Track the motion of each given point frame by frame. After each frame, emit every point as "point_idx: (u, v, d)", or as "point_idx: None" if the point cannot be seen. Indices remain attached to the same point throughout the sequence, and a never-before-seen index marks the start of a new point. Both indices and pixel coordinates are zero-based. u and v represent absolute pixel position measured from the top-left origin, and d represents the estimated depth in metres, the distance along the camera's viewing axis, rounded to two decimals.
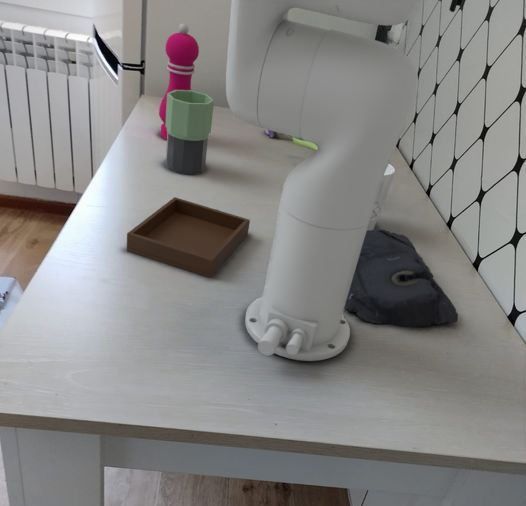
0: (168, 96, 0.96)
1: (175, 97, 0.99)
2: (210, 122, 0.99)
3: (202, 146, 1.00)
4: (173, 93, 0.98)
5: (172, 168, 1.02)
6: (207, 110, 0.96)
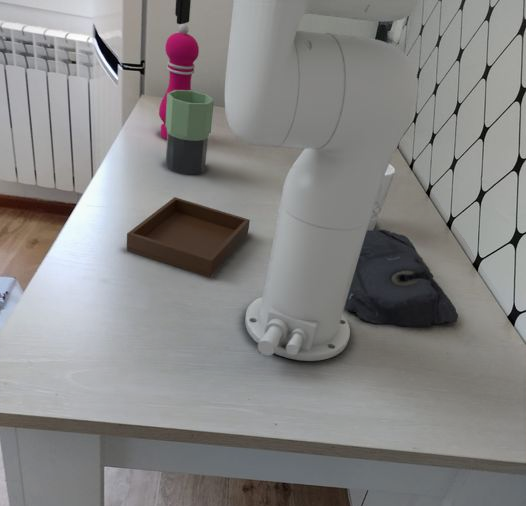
0: (168, 96, 0.96)
1: (175, 97, 0.99)
2: (210, 122, 0.99)
3: (202, 146, 1.00)
4: (173, 93, 0.98)
5: (172, 168, 1.02)
6: (207, 110, 0.96)
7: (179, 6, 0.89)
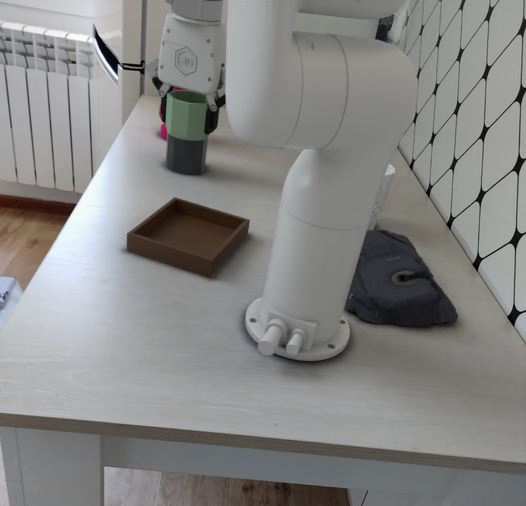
0: (168, 96, 0.96)
1: (175, 97, 0.99)
2: None
3: (202, 146, 1.00)
4: (173, 93, 0.98)
5: (172, 168, 1.02)
6: None
7: (164, 108, 0.98)
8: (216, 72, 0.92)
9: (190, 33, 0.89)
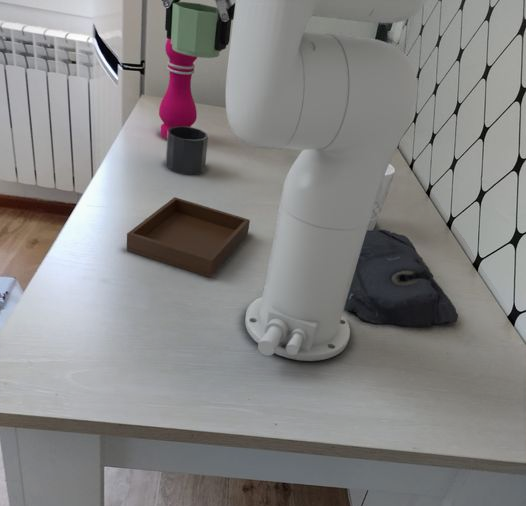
0: (174, 6, 0.86)
1: None
2: None
3: (202, 146, 1.00)
4: (179, 4, 0.87)
5: (172, 168, 1.02)
6: None
7: (169, 21, 0.88)
8: None
9: None
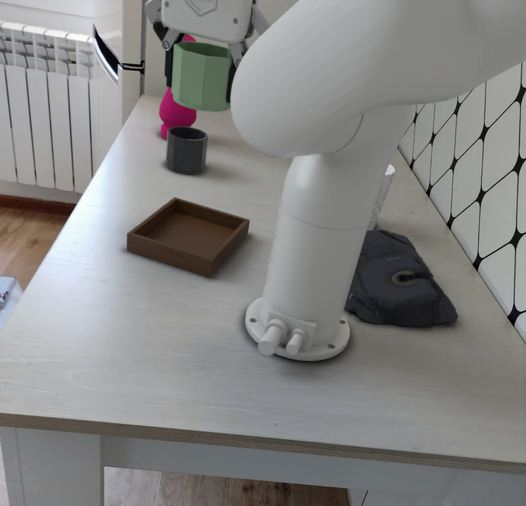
0: (175, 48, 0.68)
1: None
2: None
3: (202, 146, 1.00)
4: (182, 45, 0.70)
5: (172, 168, 1.02)
6: (230, 67, 0.68)
7: (169, 66, 0.70)
8: (245, 10, 0.63)
9: None
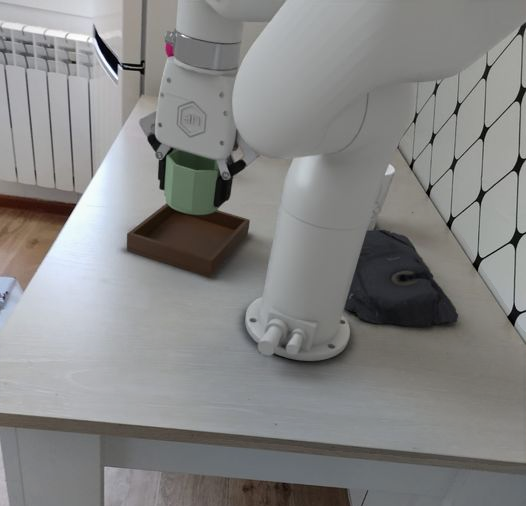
0: (168, 159, 0.75)
1: (177, 158, 0.78)
2: None
3: None
4: (174, 154, 0.77)
5: None
6: (217, 177, 0.75)
7: (162, 173, 0.77)
8: (231, 134, 0.70)
9: (197, 84, 0.68)
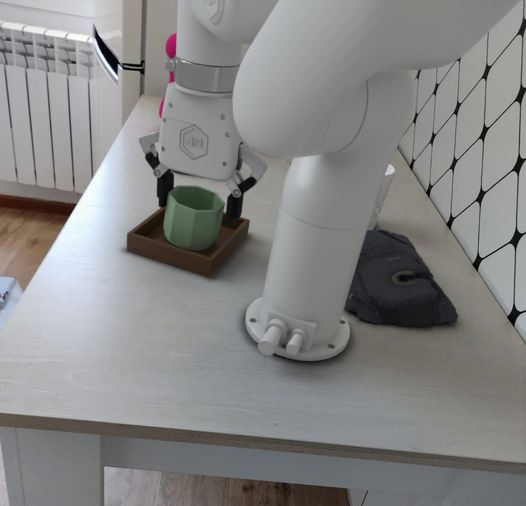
0: (169, 197, 0.78)
1: (177, 194, 0.81)
2: (218, 227, 0.81)
3: None
4: (175, 191, 0.79)
5: None
6: (216, 217, 0.78)
7: (161, 190, 0.77)
8: (233, 154, 0.71)
9: (198, 108, 0.69)
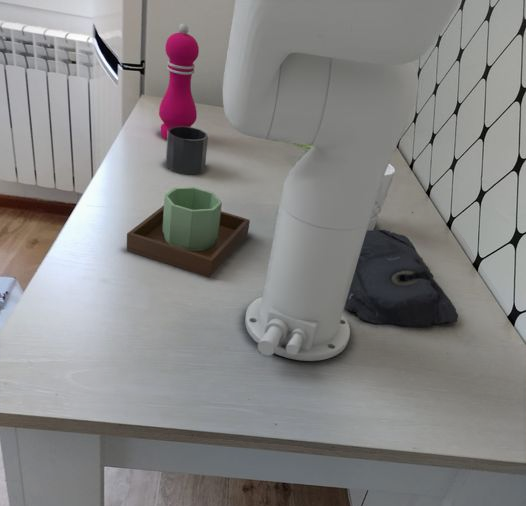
0: (166, 199, 0.78)
1: (174, 197, 0.81)
2: (217, 227, 0.81)
3: (202, 146, 1.00)
4: (172, 193, 0.80)
5: (172, 168, 1.02)
6: (214, 216, 0.78)
7: None
8: None
9: None
